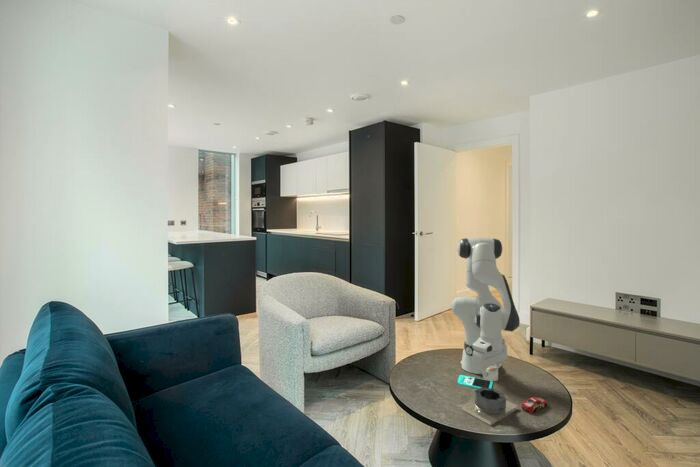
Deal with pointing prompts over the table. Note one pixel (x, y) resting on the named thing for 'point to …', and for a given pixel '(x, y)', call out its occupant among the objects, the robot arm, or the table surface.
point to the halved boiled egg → (492, 374)
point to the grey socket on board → (489, 406)
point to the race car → (534, 404)
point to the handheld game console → (474, 382)
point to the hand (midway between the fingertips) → (490, 374)
